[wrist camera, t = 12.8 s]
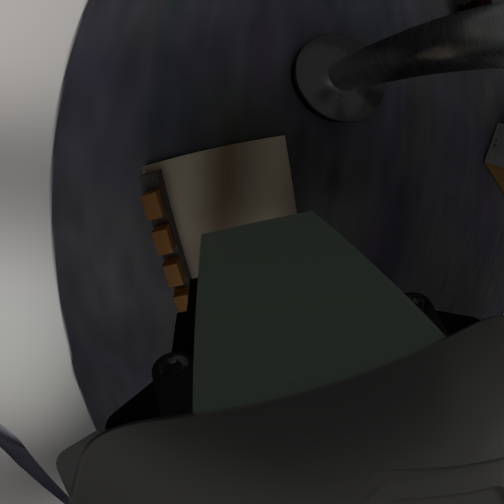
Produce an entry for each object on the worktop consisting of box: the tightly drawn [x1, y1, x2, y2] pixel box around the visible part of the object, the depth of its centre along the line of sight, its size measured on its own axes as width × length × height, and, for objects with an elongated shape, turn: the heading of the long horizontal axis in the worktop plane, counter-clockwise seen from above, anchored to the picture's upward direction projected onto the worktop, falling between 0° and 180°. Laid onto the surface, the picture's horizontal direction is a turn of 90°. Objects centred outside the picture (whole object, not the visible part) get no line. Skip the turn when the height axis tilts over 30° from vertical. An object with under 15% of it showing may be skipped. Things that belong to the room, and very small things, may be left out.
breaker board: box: [140, 136, 297, 312], centre depth 20 cm, size 10×12×4 cm
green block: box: [193, 211, 446, 413], centre depth 9 cm, size 5×5×9 cm
